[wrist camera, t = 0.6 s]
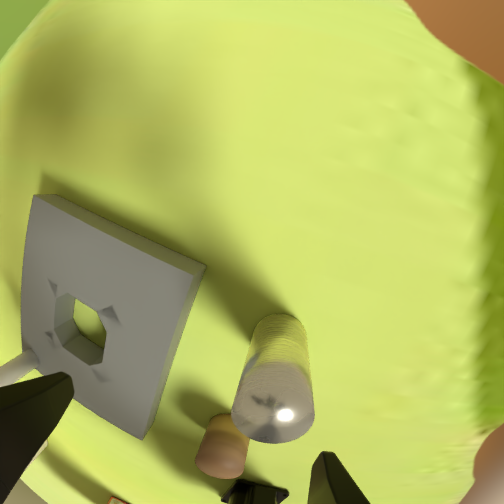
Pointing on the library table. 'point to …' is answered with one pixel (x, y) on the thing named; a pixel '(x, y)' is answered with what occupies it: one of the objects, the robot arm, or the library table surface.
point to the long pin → (275, 383)
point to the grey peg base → (101, 310)
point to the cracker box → (115, 501)
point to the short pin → (222, 449)
